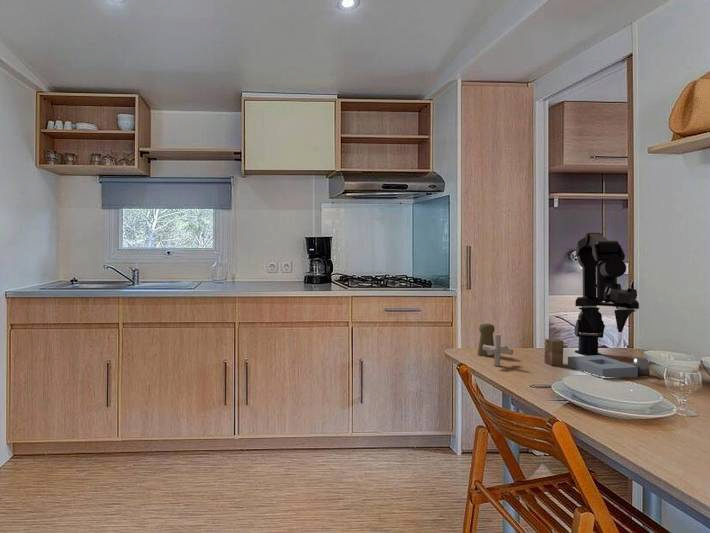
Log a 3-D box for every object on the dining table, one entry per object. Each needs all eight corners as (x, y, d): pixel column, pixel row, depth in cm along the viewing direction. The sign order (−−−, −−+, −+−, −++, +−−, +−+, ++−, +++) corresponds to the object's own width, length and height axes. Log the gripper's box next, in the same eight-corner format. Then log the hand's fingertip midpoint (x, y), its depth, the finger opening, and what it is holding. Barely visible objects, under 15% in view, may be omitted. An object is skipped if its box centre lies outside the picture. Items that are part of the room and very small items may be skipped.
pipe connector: (491, 360, 170) (492, 330, 169) (519, 365, 163) (519, 334, 162) (475, 365, 163) (475, 334, 162) (503, 371, 156) (504, 338, 155)
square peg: (544, 363, 167) (545, 339, 166) (555, 362, 167) (555, 338, 167) (551, 366, 163) (552, 341, 162) (562, 365, 164) (563, 340, 163)
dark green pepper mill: (481, 352, 182) (482, 321, 182) (497, 354, 179) (498, 323, 178) (474, 355, 178) (475, 324, 177) (491, 357, 174) (492, 325, 174)
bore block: (567, 366, 163) (567, 356, 163) (599, 364, 166) (600, 355, 165) (602, 379, 147) (602, 368, 147) (637, 377, 150) (637, 366, 150)
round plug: (628, 373, 154) (629, 357, 154) (641, 372, 155) (642, 356, 155) (640, 377, 150) (640, 360, 150) (653, 376, 151) (653, 359, 151)
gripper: (599, 276, 147) (599, 330, 145) (652, 280, 152) (654, 333, 150) (574, 279, 158) (574, 330, 156) (624, 283, 162) (625, 332, 161)
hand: (607, 331), depth 155 cm, fingers open, 9 cm apart
